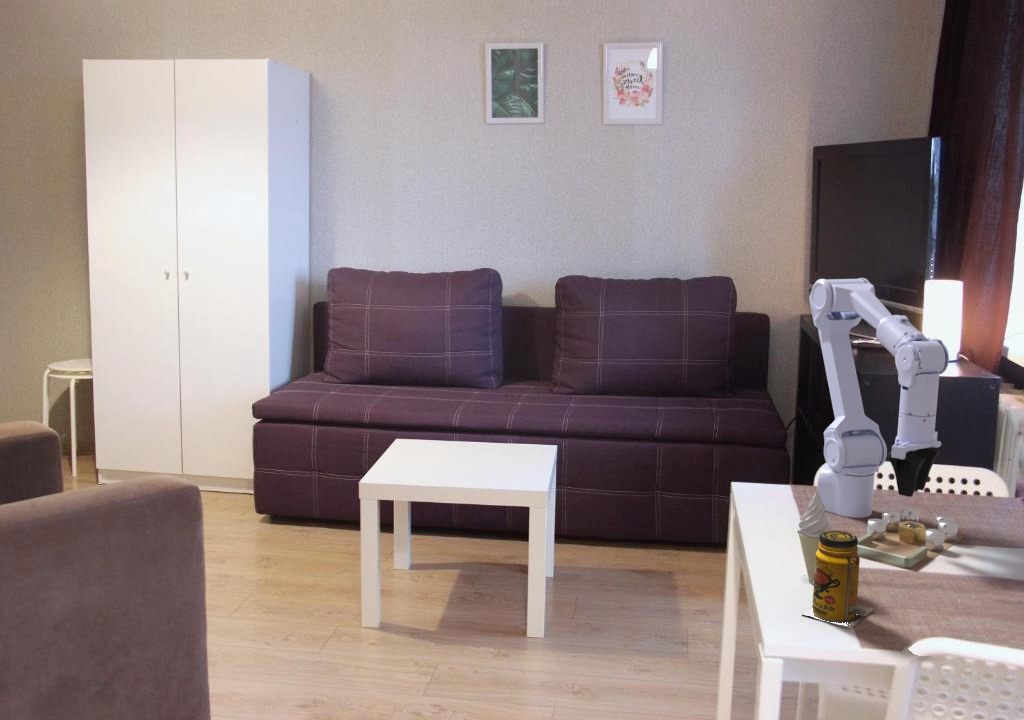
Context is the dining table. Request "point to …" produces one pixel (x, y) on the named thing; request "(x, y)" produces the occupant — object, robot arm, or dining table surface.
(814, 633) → the dining table surface
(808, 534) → the ice cream cone
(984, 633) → the dining table surface
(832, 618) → the condiment
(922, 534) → the nut
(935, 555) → the tan tray
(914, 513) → the spacers
